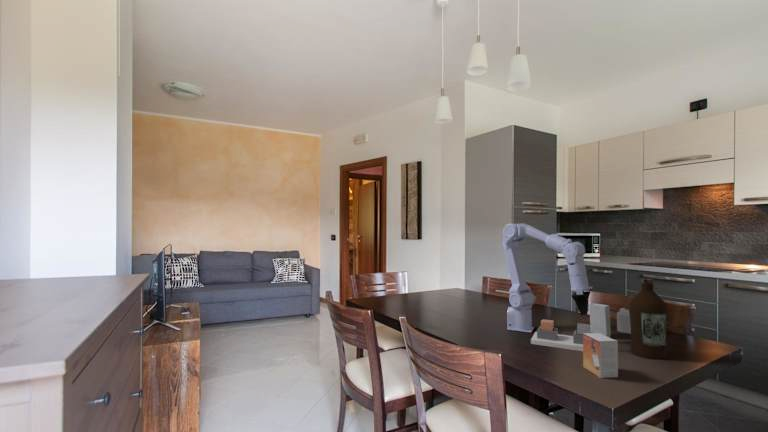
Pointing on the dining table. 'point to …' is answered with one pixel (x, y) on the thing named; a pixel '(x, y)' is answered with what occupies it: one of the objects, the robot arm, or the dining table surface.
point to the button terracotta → (547, 325)
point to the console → (558, 339)
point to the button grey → (583, 328)
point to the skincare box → (600, 319)
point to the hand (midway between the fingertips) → (584, 313)
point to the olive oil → (648, 322)
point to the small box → (600, 355)
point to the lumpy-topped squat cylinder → (623, 321)
